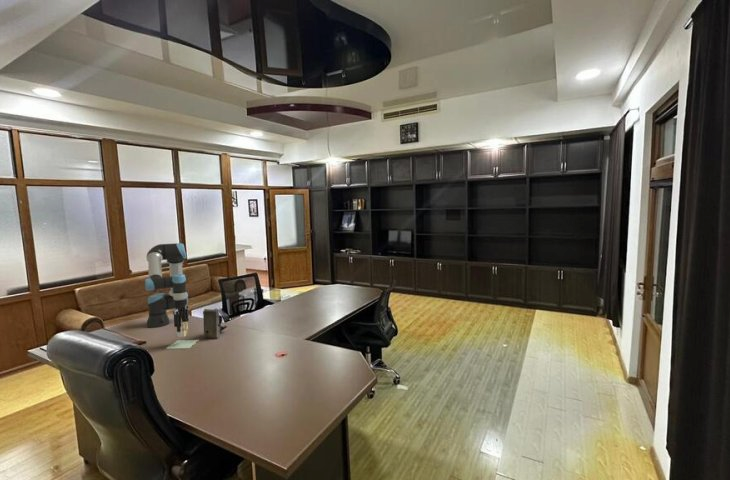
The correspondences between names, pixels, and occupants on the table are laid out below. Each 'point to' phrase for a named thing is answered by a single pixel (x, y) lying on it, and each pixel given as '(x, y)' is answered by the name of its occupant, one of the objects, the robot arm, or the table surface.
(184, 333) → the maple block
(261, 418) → the table surface
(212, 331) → the grey upright block
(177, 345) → the rest mat
